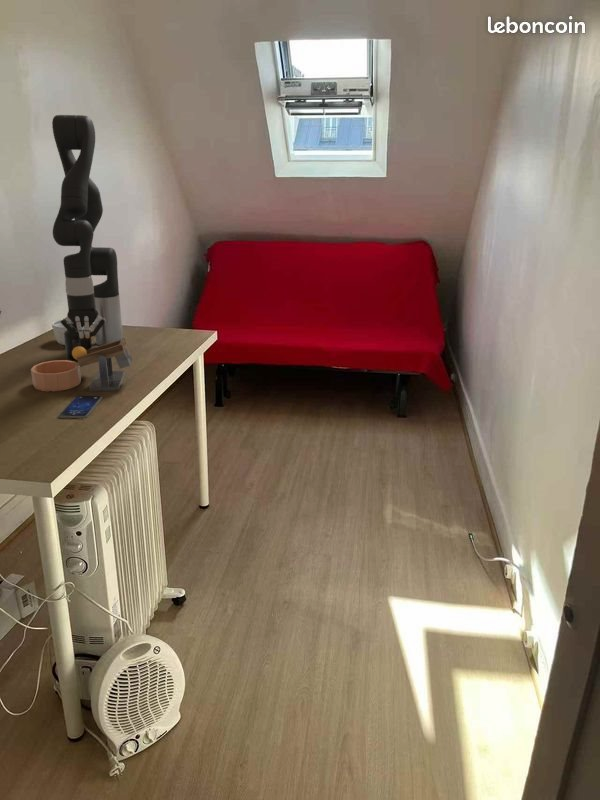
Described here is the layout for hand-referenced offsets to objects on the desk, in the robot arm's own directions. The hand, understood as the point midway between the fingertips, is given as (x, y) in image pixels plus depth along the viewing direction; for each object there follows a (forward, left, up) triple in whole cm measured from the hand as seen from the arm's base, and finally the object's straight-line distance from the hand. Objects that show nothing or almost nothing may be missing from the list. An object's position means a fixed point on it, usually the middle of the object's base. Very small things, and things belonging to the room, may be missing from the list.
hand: (86, 349), depth 179 cm
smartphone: (+27, +2, -8) cm, 28 cm away
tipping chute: (+4, +7, -4) cm, 9 cm away
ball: (+8, -1, +1) cm, 8 cm away
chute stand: (+8, +6, -8) cm, 13 cm away
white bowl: (-37, -12, -8) cm, 40 cm away
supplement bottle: (-17, -7, -8) cm, 20 cm away
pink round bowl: (+8, -8, -8) cm, 13 cm away
